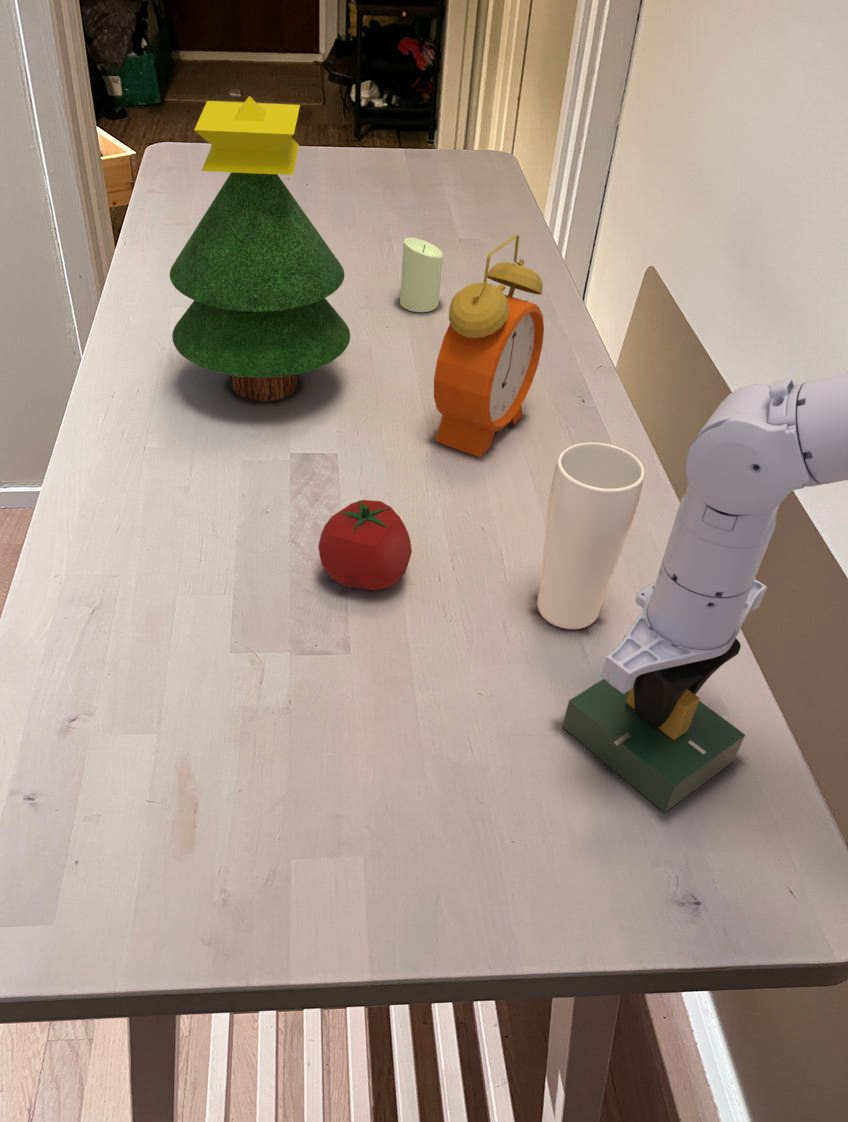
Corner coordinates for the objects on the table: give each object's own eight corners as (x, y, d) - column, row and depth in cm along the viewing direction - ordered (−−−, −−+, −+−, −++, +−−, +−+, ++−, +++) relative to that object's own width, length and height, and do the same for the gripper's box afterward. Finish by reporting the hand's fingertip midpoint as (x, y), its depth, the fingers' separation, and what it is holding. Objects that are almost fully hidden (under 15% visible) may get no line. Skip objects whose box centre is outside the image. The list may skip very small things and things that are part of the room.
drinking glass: (511, 604, 86) (538, 458, 76) (566, 576, 89) (599, 431, 79) (567, 649, 82) (603, 501, 72) (622, 618, 85) (665, 472, 75)
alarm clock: (478, 466, 102) (503, 276, 88) (425, 447, 104) (442, 259, 90) (533, 411, 110) (564, 230, 96) (484, 395, 112) (507, 216, 99)
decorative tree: (350, 347, 119) (358, 69, 99) (346, 433, 105) (354, 130, 85) (190, 341, 119) (165, 61, 99) (164, 426, 105) (128, 120, 85)
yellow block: (688, 731, 72) (701, 695, 69) (673, 741, 71) (687, 705, 69) (639, 693, 75) (650, 658, 72) (625, 702, 74) (636, 667, 71)
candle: (434, 295, 131) (440, 233, 125) (441, 312, 127) (447, 249, 122) (397, 296, 130) (400, 233, 125) (402, 313, 127) (406, 249, 121)
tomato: (306, 587, 87) (305, 520, 82) (345, 536, 92) (346, 471, 87) (390, 614, 85) (394, 548, 80) (424, 561, 90) (431, 496, 85)
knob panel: (737, 758, 74) (749, 730, 72) (660, 816, 70) (671, 788, 68) (634, 680, 80) (643, 652, 78) (558, 729, 76) (565, 701, 74)
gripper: (726, 500, 69) (678, 641, 78) (584, 578, 62) (548, 722, 71) (815, 552, 65) (752, 694, 74) (672, 641, 58) (623, 786, 67)
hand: (657, 712), depth 73 cm, fingers closed on yellow block, 2 cm apart
